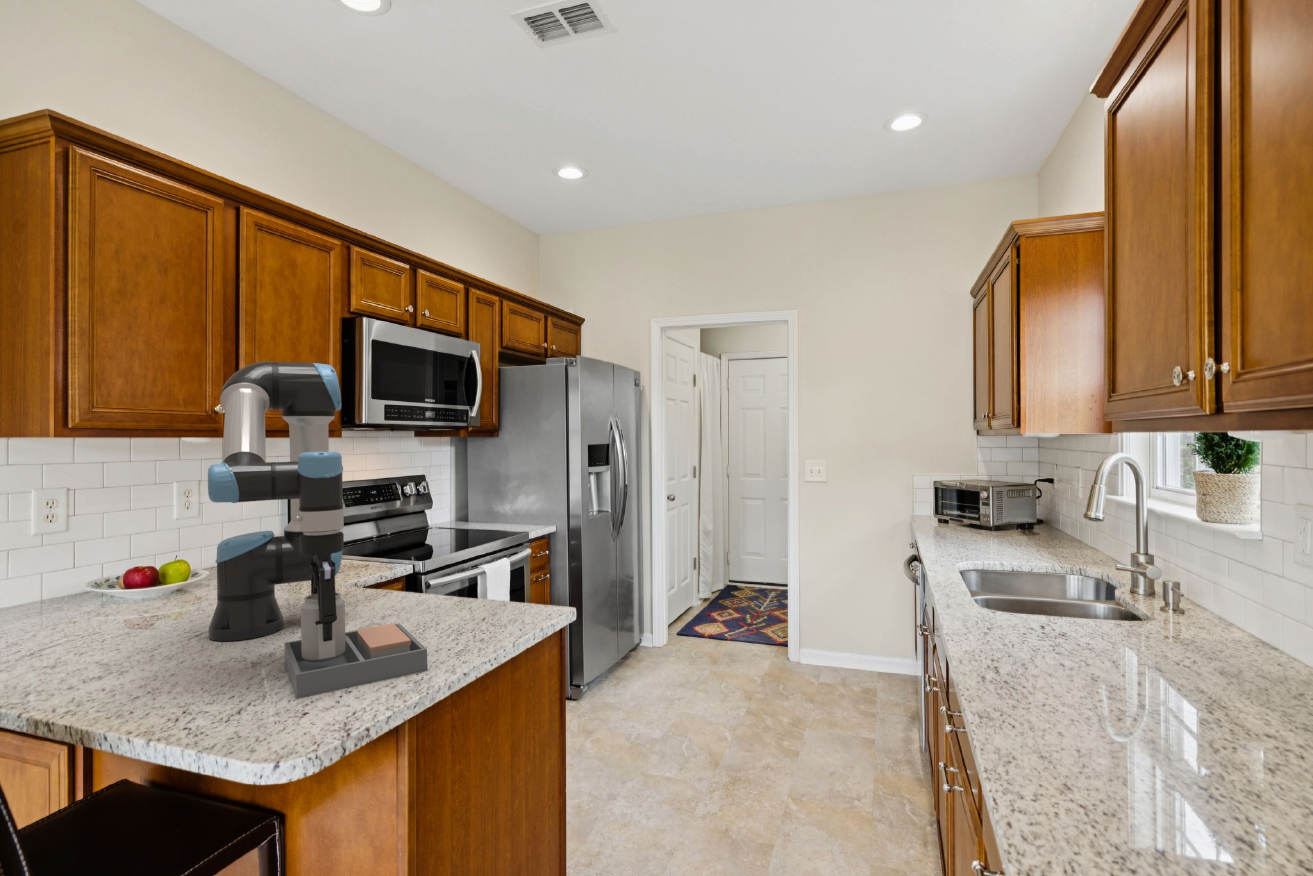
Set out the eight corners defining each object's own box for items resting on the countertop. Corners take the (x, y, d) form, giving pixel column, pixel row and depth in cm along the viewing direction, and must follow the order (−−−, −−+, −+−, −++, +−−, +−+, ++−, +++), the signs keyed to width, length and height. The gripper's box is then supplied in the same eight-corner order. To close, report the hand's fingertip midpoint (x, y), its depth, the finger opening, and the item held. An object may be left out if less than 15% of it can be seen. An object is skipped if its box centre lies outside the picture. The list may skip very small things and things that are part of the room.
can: (327, 665, 120) (326, 600, 120) (292, 663, 121) (291, 599, 121) (354, 652, 127) (353, 590, 127) (320, 650, 128) (319, 589, 128)
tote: (284, 667, 130) (284, 642, 130) (399, 646, 142) (399, 623, 142) (296, 703, 112) (296, 674, 112) (427, 675, 124) (427, 649, 124)
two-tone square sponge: (356, 654, 134) (356, 629, 134) (394, 647, 138) (393, 623, 138) (370, 675, 122) (370, 647, 122) (411, 666, 126) (411, 640, 126)
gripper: (293, 528, 130) (295, 642, 130) (306, 540, 113) (308, 671, 113) (335, 525, 134) (337, 635, 134) (352, 536, 118) (355, 662, 118)
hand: (323, 651), depth 124 cm, fingers closed on can, 7 cm apart
